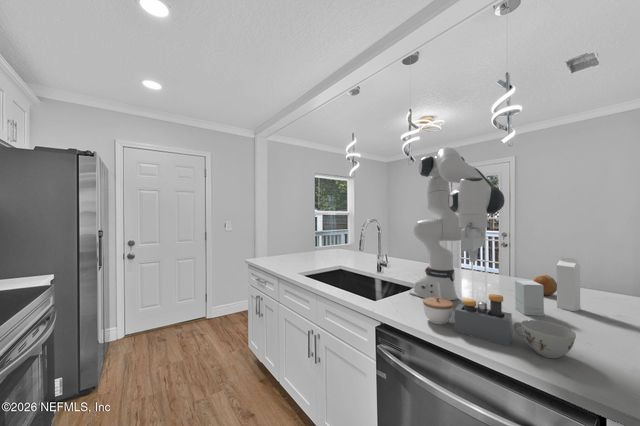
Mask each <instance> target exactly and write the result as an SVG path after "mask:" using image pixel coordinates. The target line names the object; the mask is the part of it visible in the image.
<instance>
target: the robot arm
mask: <svg viewBox="0 0 640 426" xmlns="http://www.w3.org/2000/svg"><path fill="white" fill-rule="evenodd" d="M418 172H419V174H420V175H421V177H425V178H428V177H429V178H428V180H427V181H428V182H427V190H426V193H427V195H426V199H427V209H428V210H429V212H431V213H433V214H434V215H436V216H438V217H439V218H436V219H435V218H434V219H433V218H432V219H431V218H430V219H429V218H426V219H421V220H417V222H415V223H414V226H413V233H414V236H415V237H416V238H417V239H418V240H419V241H420V242H421V243H422V244H424V246H425V247H426V250H427V252H428V254H427V255H428V260H429V262H428V264H429V265H428V266H427V267H425V269H424V273H425V274H424V275H422V276H421V277H419V278H417V279H416V280H415V282H414V285H413V287H412V288H410V290H409V294H410V295H412V296H416V297H419V298H423V299H425V298H432V297H434V298H436V297H439V298H443V299H446V300H449V301H454V300H457V299H458V296H457V291H456V286H455V277H456V276H455V268H454V254H453V252H452V251H451V250H449V249H448V248H446V247H444V246H442V245H440V242H458V241H460V249H461V251H462V252H467V253H468V256H469V262H470V263H475V262H476V261H477V260H478V253H479V249H481V248H482V247H484V245H485V240H486V228H488V214H490V215H494V214H496V213H498V212H499V211H501V209H502V208H503V207H504V205H505V196H504V194H503V192H502V191H501V190H500V189H499V188H498V187H497V186H496V185H493V183H491V181H490V180H489V179H488V178H487V177H486V176H485V175H484V174H483V173H482V172H481V171H480V170H479V168H476V167H474V166H472V165H471V164H468V163H467V162H466V160H465V159H464V157H463V156H461V155H460V153H459V152H458V151H457V150H456V149H455V148H453V147H443V148H441V149H440V150H438V152H437V153H436V155H427V156H424V157H422V158H421V159H420V160H419V163H418ZM450 183H454V184H459V185H458V187H457V188H456V189H453V190H452V191H451V188H450ZM457 214H458V215H457Z"/></svg>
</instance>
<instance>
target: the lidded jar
mask: <svg viewBox="0 0 640 426" xmlns="http://www.w3.org/2000/svg"><path fill="white" fill-rule="evenodd" d="M422 302H423V311H424V315H425V317H426V318H427V320H429V322H430V323H431V324H432V323H433V324H435V325H439V326H440V325H441V326H442V325H446V324H447V323H448V322H449V321H450V319H451V318H452V316H453V312H454V311H453V309H454V308H453V307H454V304H453V302H452V300H446V299H443V298H439V297H436V298H434V297H432V298H423V300H422Z"/></svg>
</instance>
